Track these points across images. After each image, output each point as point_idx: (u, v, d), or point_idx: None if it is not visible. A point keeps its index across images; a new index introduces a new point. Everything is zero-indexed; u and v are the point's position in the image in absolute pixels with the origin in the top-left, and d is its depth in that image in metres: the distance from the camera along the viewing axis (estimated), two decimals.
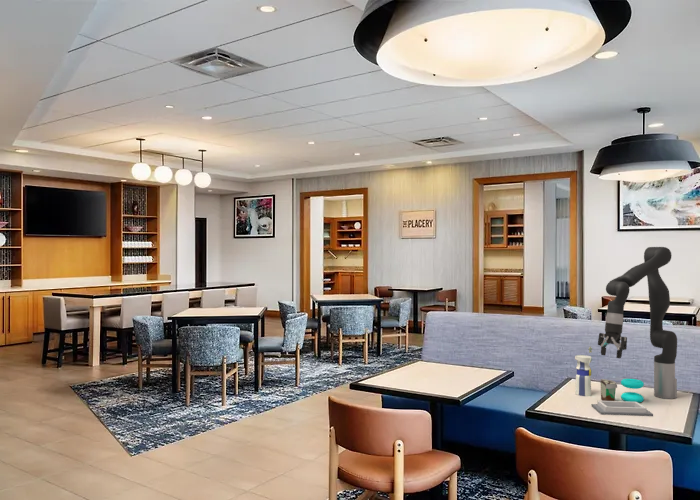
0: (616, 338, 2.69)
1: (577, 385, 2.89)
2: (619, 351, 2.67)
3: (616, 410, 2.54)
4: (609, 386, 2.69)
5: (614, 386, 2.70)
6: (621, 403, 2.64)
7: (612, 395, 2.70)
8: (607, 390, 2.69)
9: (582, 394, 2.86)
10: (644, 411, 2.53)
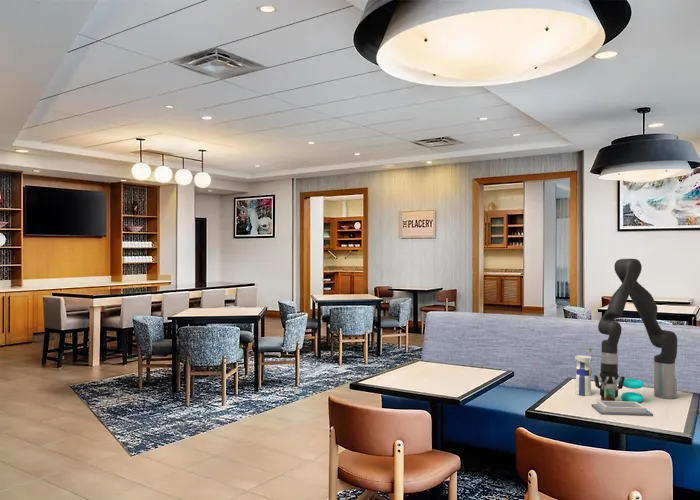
0: (616, 378, 2.73)
1: (577, 385, 2.89)
2: (617, 391, 2.73)
3: (616, 410, 2.54)
4: (609, 386, 2.69)
5: (614, 386, 2.70)
6: (621, 403, 2.64)
7: (612, 395, 2.70)
8: (607, 390, 2.69)
9: (582, 394, 2.86)
10: (644, 411, 2.53)
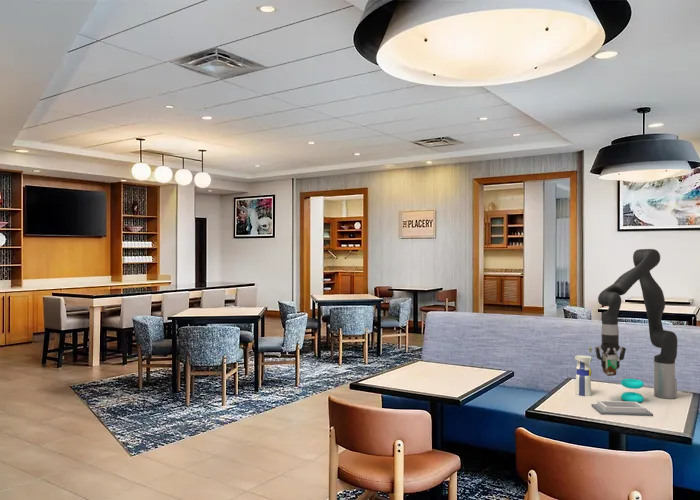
0: (617, 349, 2.73)
1: (577, 385, 2.89)
2: (618, 362, 2.73)
3: (616, 410, 2.54)
4: (610, 357, 2.69)
5: (615, 357, 2.70)
6: (621, 403, 2.64)
7: (614, 366, 2.70)
8: (609, 361, 2.69)
9: (582, 394, 2.86)
10: (644, 411, 2.53)
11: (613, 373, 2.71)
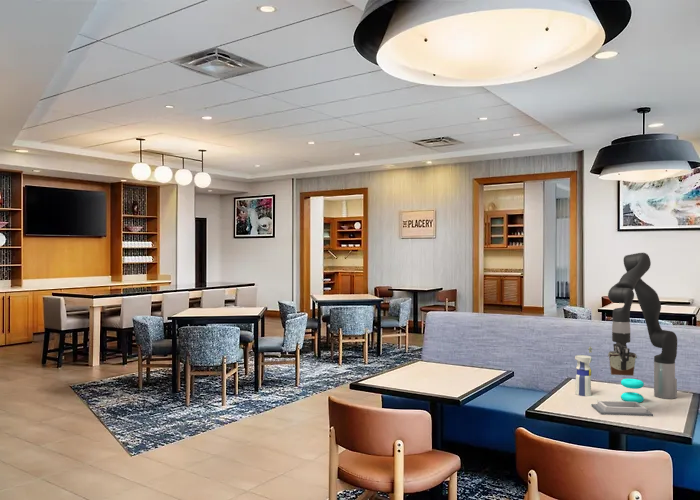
0: None
1: (577, 385, 2.89)
2: None
3: (616, 410, 2.54)
4: None
5: None
6: (621, 403, 2.64)
7: None
8: None
9: (582, 394, 2.86)
10: (644, 411, 2.53)
11: None
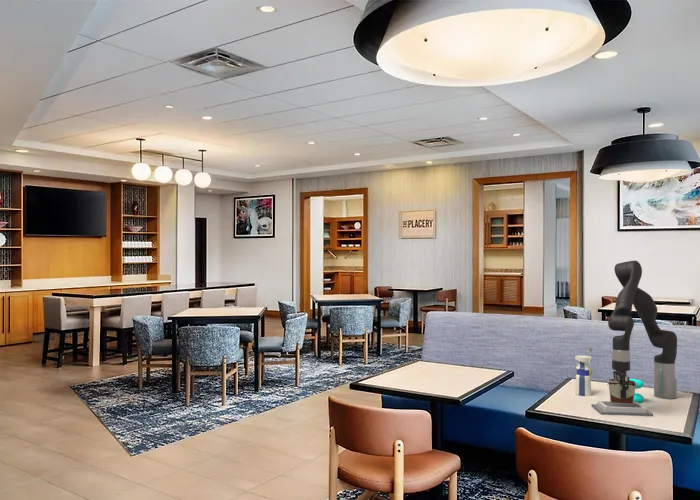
0: None
1: (577, 385, 2.89)
2: None
3: (616, 410, 2.54)
4: None
5: None
6: None
7: None
8: None
9: (582, 394, 2.86)
10: (644, 411, 2.53)
11: None
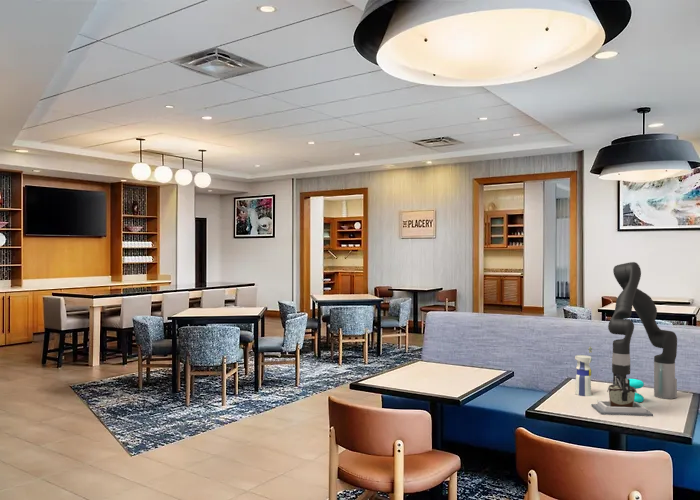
0: None
1: (577, 385, 2.89)
2: None
3: (616, 410, 2.54)
4: None
5: None
6: None
7: None
8: None
9: (582, 394, 2.86)
10: (644, 411, 2.53)
11: None
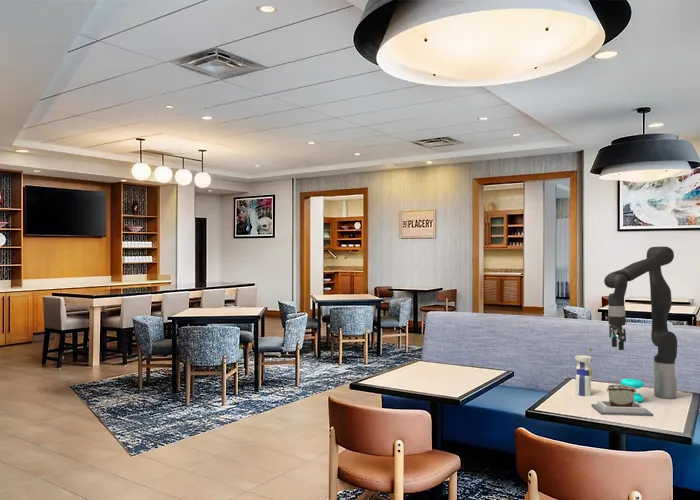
0: None
1: (577, 385, 2.89)
2: None
3: (616, 410, 2.54)
4: None
5: None
6: None
7: None
8: None
9: (582, 394, 2.86)
10: (644, 411, 2.53)
11: None
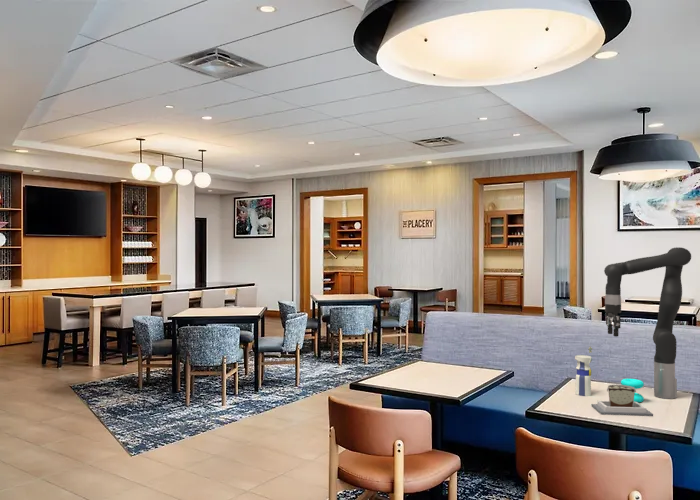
0: None
1: (577, 385, 2.89)
2: None
3: (616, 410, 2.54)
4: None
5: None
6: None
7: None
8: None
9: (582, 394, 2.86)
10: (644, 411, 2.53)
11: None
